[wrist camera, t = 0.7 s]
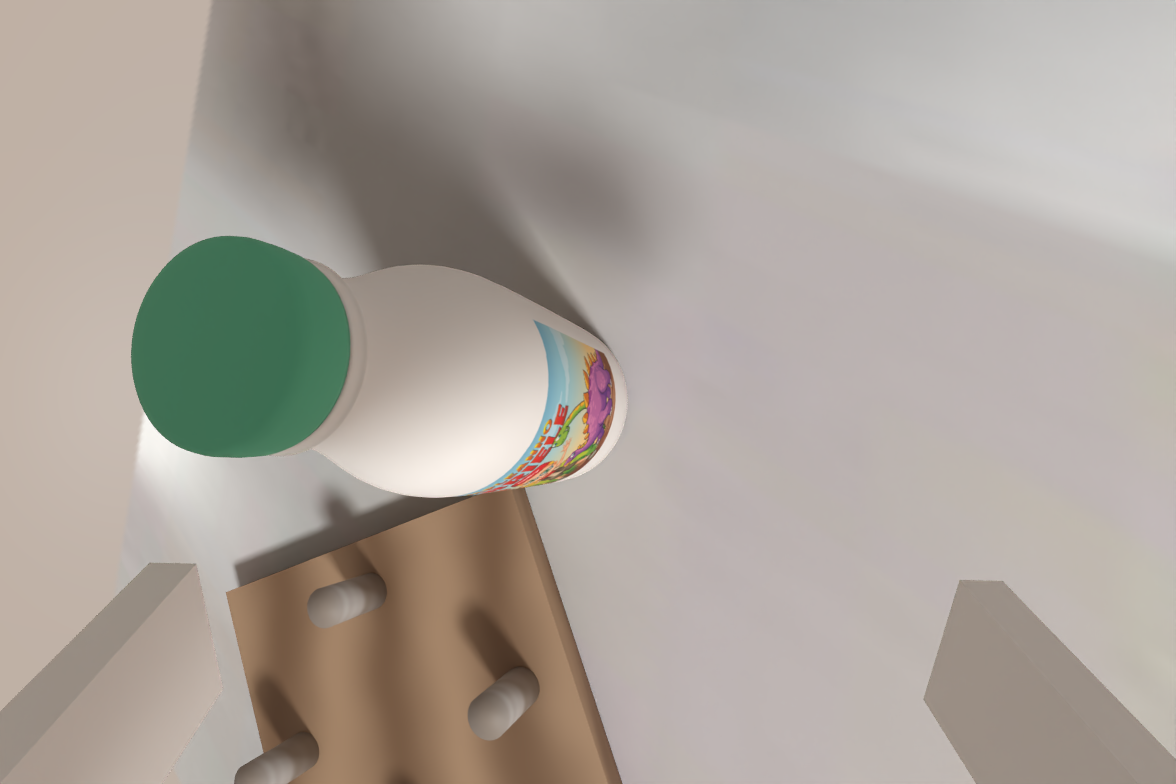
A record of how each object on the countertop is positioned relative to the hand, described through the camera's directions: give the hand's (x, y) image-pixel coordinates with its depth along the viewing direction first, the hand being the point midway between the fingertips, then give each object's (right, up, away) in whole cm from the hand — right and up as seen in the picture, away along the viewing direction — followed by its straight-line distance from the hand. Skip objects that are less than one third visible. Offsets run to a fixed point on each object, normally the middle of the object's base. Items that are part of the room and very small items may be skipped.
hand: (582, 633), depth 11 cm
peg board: (-8, -12, +21) cm, 26 cm away
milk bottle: (-1, +4, +21) cm, 21 cm away
